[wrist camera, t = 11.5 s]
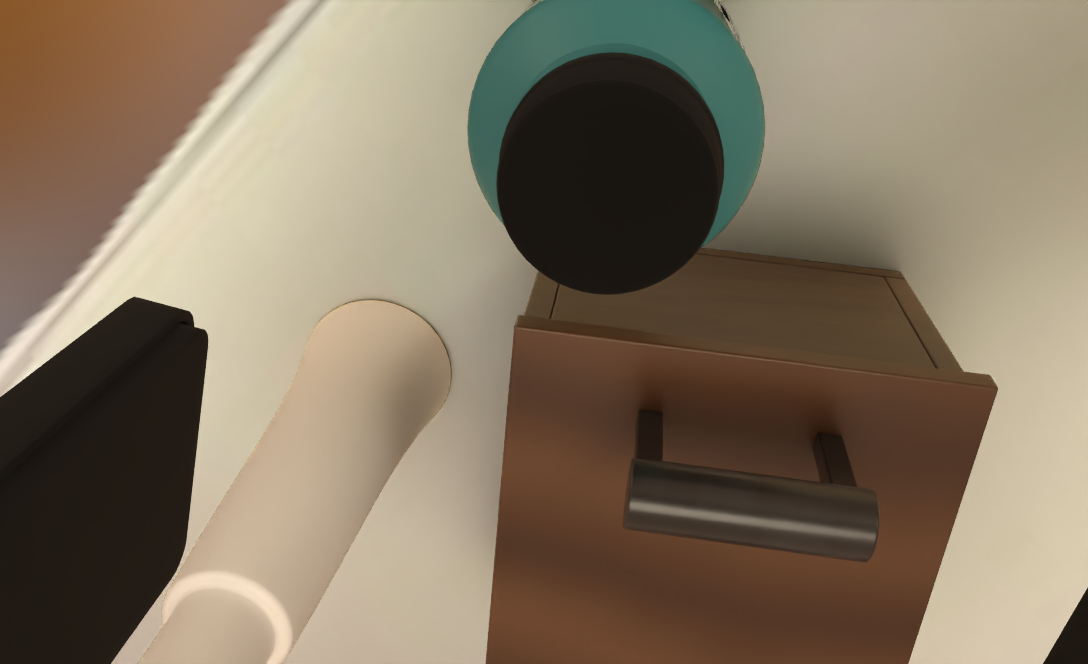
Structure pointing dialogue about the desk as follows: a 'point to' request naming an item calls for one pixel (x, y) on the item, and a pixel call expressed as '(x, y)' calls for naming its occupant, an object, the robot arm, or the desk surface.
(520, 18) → the beverage bottle
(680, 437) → the lid
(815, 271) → the chest
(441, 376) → the cosmetic bottle
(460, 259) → the desk surface
